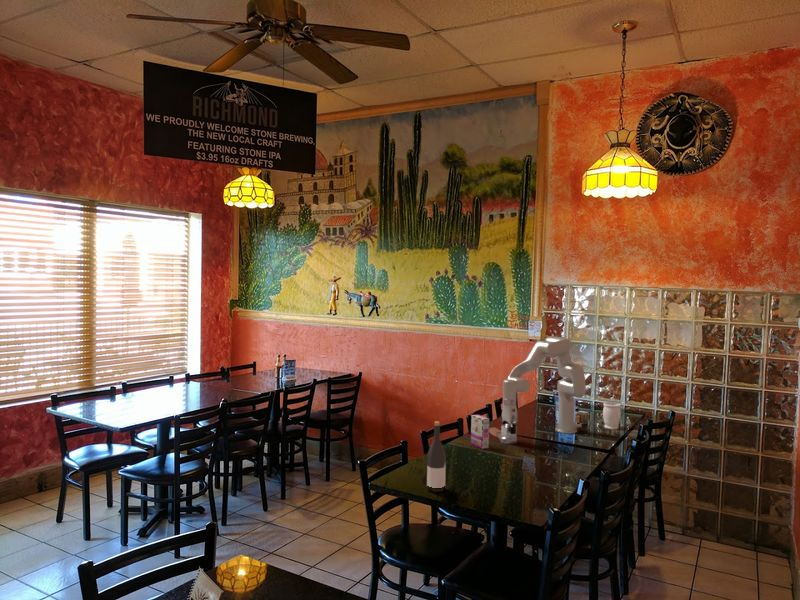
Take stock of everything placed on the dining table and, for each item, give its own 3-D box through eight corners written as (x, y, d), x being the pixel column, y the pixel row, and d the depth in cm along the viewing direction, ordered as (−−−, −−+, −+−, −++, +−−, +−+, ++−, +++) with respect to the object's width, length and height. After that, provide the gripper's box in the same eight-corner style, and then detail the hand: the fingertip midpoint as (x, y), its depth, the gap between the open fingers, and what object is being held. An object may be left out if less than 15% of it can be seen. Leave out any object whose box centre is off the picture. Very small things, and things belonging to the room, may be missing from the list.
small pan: (498, 431, 355) (498, 419, 355) (519, 443, 330) (519, 431, 330) (484, 432, 352) (484, 420, 352) (504, 444, 328) (505, 432, 327)
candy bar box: (489, 448, 321) (490, 418, 320) (481, 449, 319) (482, 419, 318) (477, 443, 331) (478, 414, 330) (470, 444, 329) (470, 414, 328)
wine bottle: (425, 486, 263) (426, 419, 262) (443, 486, 264) (444, 419, 263) (427, 493, 255) (428, 424, 254) (446, 492, 256) (447, 424, 254)
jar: (621, 430, 361) (622, 406, 360) (604, 429, 363) (604, 405, 362) (618, 425, 371) (619, 402, 371) (601, 425, 373) (601, 401, 372)
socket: (511, 434, 337) (511, 422, 337) (516, 437, 331) (516, 425, 331) (501, 435, 335) (501, 423, 335) (506, 438, 329) (506, 425, 329)
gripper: (522, 404, 325) (522, 435, 326) (508, 397, 342) (507, 427, 342) (510, 405, 323) (510, 436, 324) (496, 398, 339) (496, 428, 340)
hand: (508, 431), depth 333 cm, fingers open, 9 cm apart
